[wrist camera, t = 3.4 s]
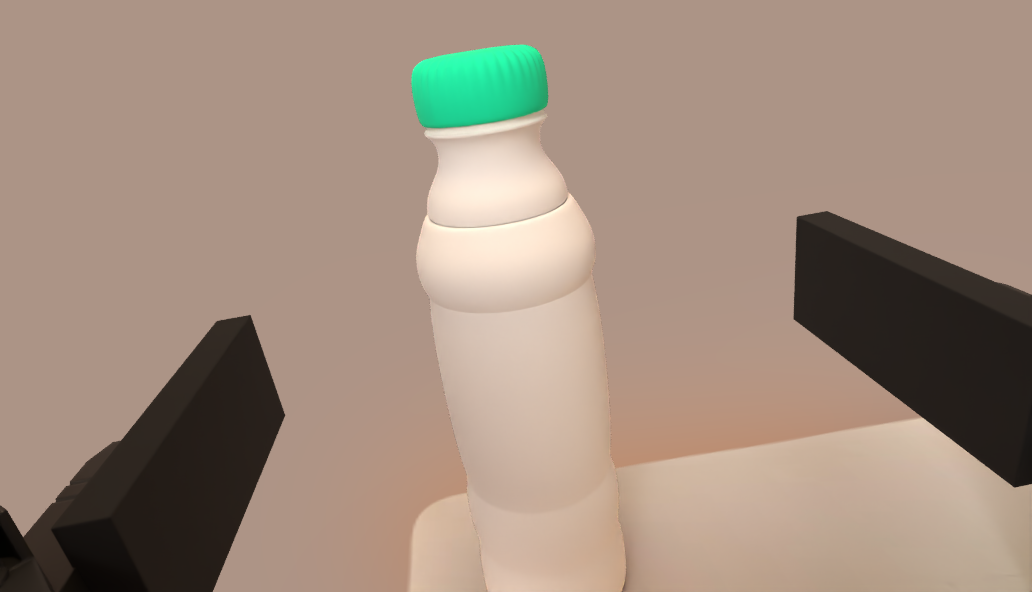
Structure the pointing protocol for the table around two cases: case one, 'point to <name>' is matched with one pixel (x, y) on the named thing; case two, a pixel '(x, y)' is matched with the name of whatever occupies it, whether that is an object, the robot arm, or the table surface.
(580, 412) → the water bottle
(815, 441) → the table surface
